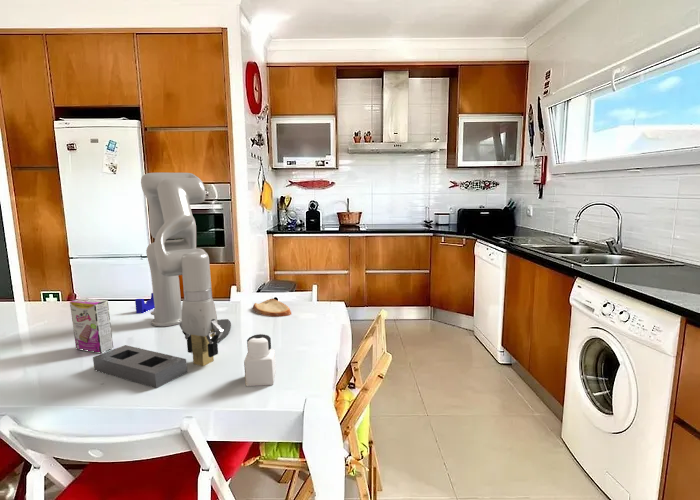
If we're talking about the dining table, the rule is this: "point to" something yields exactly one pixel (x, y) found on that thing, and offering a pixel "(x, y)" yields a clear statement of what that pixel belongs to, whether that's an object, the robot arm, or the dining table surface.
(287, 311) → the slice of bread
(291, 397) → the dining table surface
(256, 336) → the medicine bottle
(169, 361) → the grey peg hole block
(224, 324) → the spray bottle
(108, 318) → the candy bar box
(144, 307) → the cable clip
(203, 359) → the brass peg
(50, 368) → the dining table surface
